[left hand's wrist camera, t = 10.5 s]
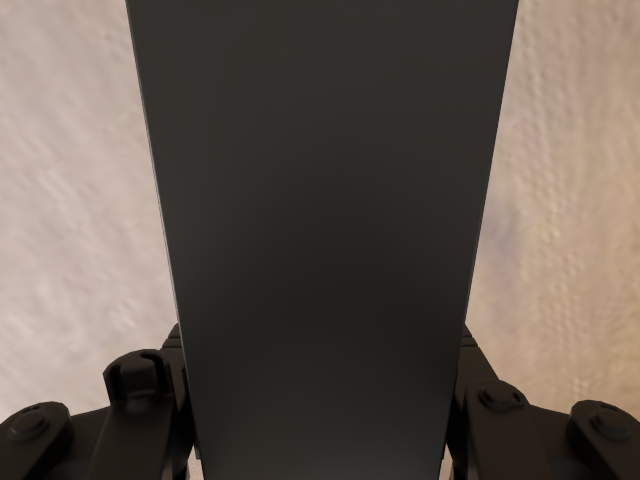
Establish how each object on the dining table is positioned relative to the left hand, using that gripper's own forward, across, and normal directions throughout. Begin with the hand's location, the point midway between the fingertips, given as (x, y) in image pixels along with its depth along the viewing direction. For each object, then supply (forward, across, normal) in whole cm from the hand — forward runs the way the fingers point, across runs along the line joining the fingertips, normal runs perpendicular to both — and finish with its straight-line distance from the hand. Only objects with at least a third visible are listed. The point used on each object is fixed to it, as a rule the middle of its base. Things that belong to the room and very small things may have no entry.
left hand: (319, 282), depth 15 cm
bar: (+1, 0, -10) cm, 10 cm away
